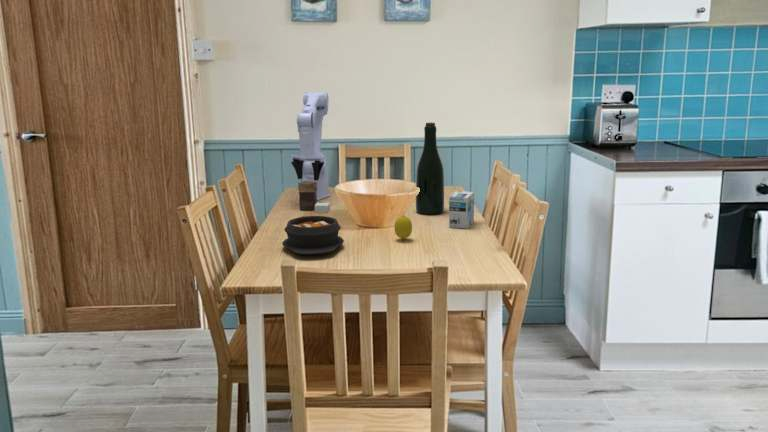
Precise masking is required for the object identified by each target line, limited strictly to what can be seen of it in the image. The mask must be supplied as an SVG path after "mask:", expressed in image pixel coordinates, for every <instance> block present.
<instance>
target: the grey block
mask: <svg viewBox="0 0 768 432" xmlns="http://www.w3.org/2000/svg"><path fill="white" fill-rule="evenodd" d="M330 203H331V202H328V203H318V202H317V203H316V204H315V210H314V214H323V213H324V214H329V212H330V210H331V205H330Z"/></svg>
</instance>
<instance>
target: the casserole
mask: <svg viewBox="0 0 768 432" xmlns="http://www.w3.org/2000/svg"><path fill="white" fill-rule="evenodd" d="M341 228H342V227H341V225H340V223H339V222H338V220H337V218H334V217H331V216H324V215H307V216H299V217H295V218H292V219H289V220H288V221H287V224H286V226H285V228H284V232H285V233H286V235H287V238H285V239H284V240H283V241H282V244H281V245H282V246H283V247H284V248H287V249H289V250H290V251H292V252H294V253H295V254H297V255H323V254H329V253H333V252H335V250H336V249H337V248H338V247H340V246H342V245H343V244H344V242H345V240H344V239H343V238H342V237H341V236H339V231H340V230H341Z"/></svg>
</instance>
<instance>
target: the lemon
mask: <svg viewBox="0 0 768 432" xmlns="http://www.w3.org/2000/svg"><path fill="white" fill-rule="evenodd" d="M412 232H413V225H412V220H411V219H410V218H409V217H408V216H406V215H403V214H402V215H401V216H399V217H398V218H397V219H395V222H394V233H395V235H396V236H397V237H398V238H400V239H401V240H402V241H405V240H406V239H407V238H409V237H410V236H411V235H412Z"/></svg>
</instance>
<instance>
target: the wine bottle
mask: <svg viewBox="0 0 768 432" xmlns="http://www.w3.org/2000/svg"><path fill="white" fill-rule="evenodd" d="M437 129H438V128H437V126H436V123H435V122H426V123H425V125H424V129H423V130H424V131H423V132H424V136H423V137H424V138H423V149H422V152H421V155H420V158H419V160H418V163H417V166H416V174H415V175H416V178H415V179H416V180H415V183H416V184H415V188H416V187H419V188H420V192H419V194H418V195H417V196H416V195H415V211H416V212H417V213H418V214H420V215H428V216H429V215H431V216H432V215H441V214H442V213H443V212H444V211H445V172H444V171H445V170H444V165H443V162H442V159H441V156H440V153H439V150H438V145H437Z"/></svg>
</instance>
